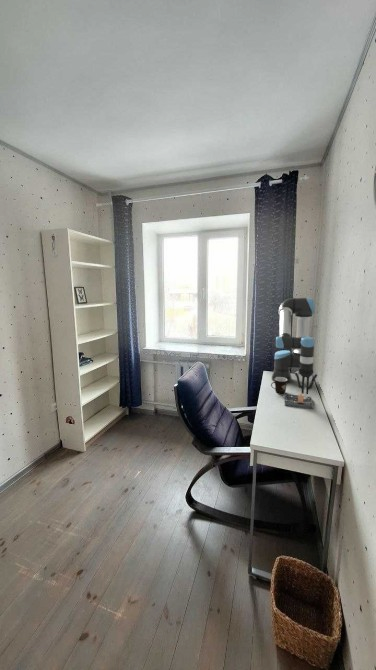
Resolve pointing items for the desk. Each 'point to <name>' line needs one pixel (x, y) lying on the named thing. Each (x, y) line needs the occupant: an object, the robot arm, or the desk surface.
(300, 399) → the fader terracotta
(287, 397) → the console
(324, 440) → the desk surface
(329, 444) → the desk surface
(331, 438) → the desk surface
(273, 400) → the desk surface
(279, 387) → the coffee mug
